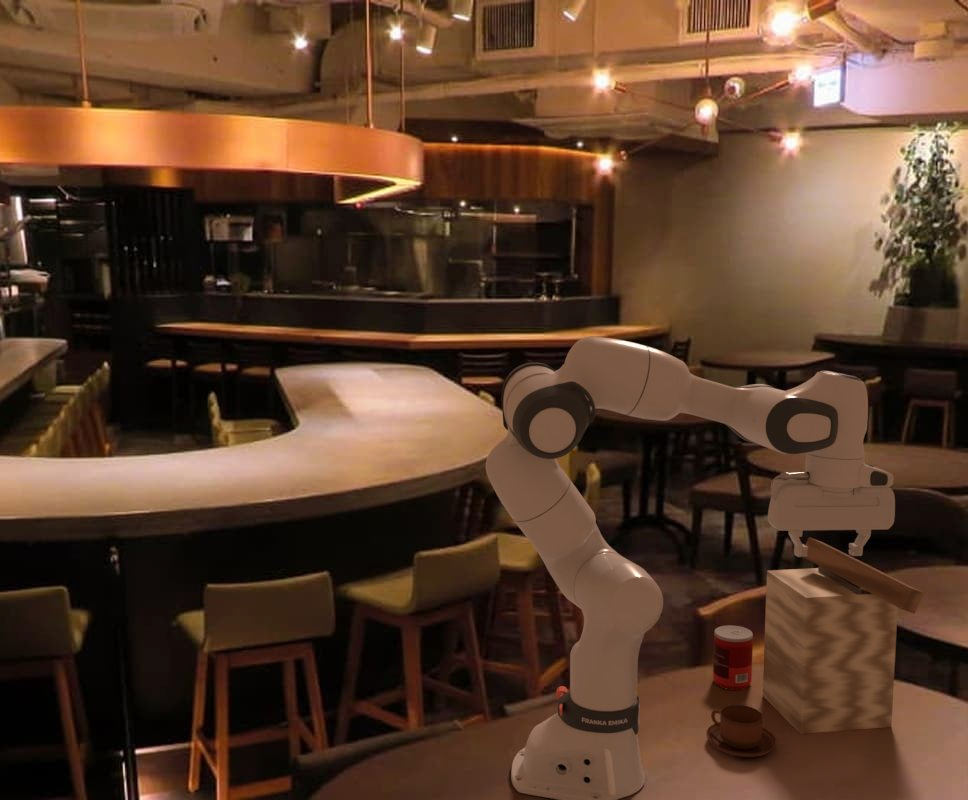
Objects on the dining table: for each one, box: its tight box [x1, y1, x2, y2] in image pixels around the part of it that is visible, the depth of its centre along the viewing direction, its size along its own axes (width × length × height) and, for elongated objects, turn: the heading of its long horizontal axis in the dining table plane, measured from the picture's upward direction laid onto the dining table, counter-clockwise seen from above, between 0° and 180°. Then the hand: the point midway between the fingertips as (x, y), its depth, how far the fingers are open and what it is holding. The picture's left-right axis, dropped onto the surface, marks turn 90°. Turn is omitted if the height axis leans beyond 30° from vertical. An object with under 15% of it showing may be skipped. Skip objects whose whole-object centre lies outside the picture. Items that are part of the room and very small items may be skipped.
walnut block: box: [803, 537, 925, 615], centre depth 170 cm, size 4×24×4 cm, turn 27°
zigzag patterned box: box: [762, 565, 899, 735], centre depth 177 cm, size 18×16×27 cm
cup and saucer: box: [706, 704, 777, 758], centre depth 165 cm, size 12×12×6 cm
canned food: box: [712, 624, 754, 691], centre depth 190 cm, size 8×8×11 cm
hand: (827, 555), depth 149 cm, fingers open, 8 cm apart
